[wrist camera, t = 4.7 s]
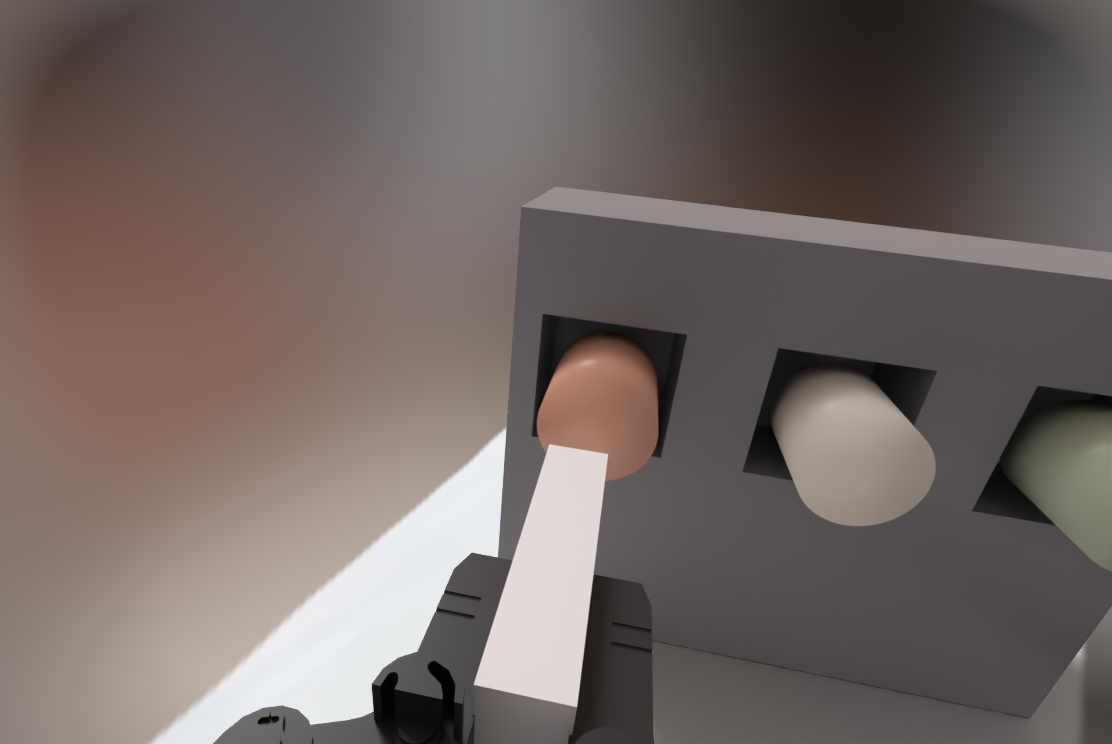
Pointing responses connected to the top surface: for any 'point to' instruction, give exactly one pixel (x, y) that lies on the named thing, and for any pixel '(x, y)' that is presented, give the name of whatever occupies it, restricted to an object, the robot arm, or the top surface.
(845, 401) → the cream button
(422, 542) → the top surface
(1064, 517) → the sage button
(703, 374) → the console
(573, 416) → the terracotta button
